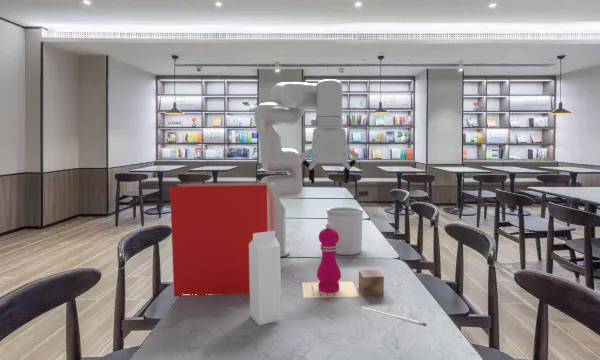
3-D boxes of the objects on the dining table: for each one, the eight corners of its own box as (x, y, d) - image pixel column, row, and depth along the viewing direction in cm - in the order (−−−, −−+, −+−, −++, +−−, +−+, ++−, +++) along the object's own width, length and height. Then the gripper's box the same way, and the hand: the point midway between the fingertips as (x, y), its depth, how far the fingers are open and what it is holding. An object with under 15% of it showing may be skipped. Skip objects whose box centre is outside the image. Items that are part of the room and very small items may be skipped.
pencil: (425, 327, 90) (425, 324, 90) (354, 308, 101) (355, 306, 100) (426, 325, 91) (426, 323, 90) (356, 307, 101) (356, 305, 101)
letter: (303, 298, 107) (303, 297, 107) (301, 283, 119) (301, 282, 119) (359, 297, 107) (359, 296, 107) (352, 282, 119) (352, 281, 119)
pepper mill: (315, 285, 116) (315, 221, 115) (338, 284, 117) (338, 220, 115) (318, 294, 109) (318, 226, 107) (343, 293, 110) (343, 225, 108)
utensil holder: (327, 245, 164) (327, 205, 163) (362, 246, 162) (362, 206, 161) (325, 255, 150) (325, 211, 148) (363, 256, 148) (363, 212, 146)
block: (362, 297, 107) (362, 277, 107) (358, 289, 113) (358, 270, 113) (383, 297, 107) (383, 276, 107) (378, 289, 113) (378, 269, 113)
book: (174, 296, 109) (170, 186, 106) (180, 286, 117) (176, 184, 114) (268, 292, 111) (266, 185, 109) (268, 282, 119) (266, 182, 116)
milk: (281, 320, 93) (281, 233, 91) (258, 326, 90) (257, 236, 88) (271, 311, 99) (270, 228, 97) (249, 316, 96) (248, 231, 94)
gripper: (299, 123, 105) (300, 184, 106) (361, 123, 105) (360, 183, 107) (298, 125, 112) (299, 182, 114) (356, 124, 113) (356, 181, 114)
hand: (329, 182), depth 110 cm, fingers open, 9 cm apart
